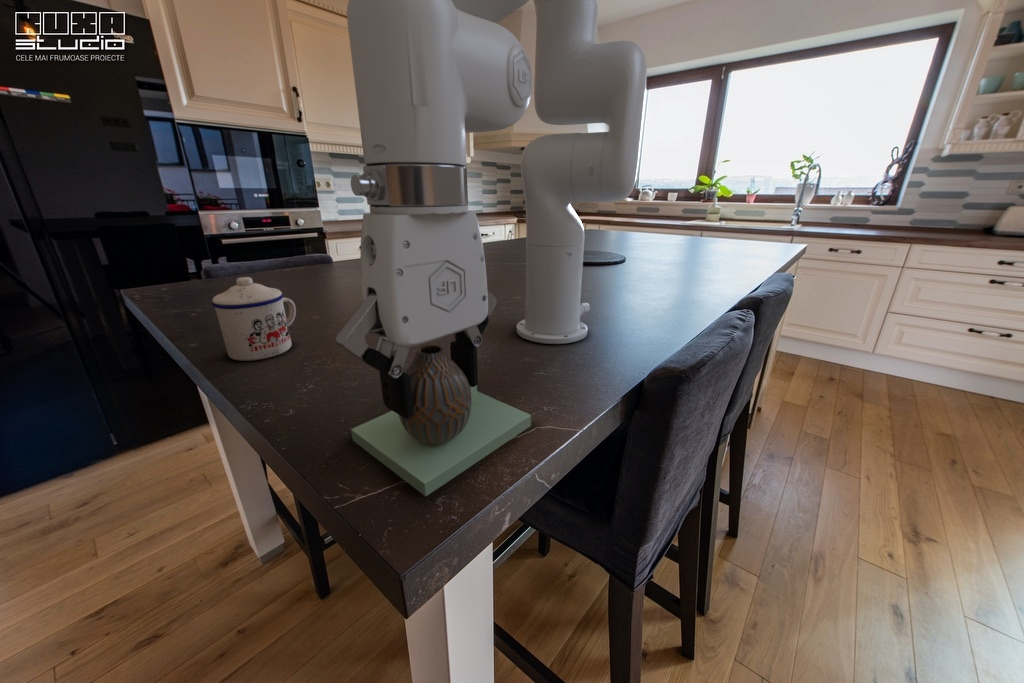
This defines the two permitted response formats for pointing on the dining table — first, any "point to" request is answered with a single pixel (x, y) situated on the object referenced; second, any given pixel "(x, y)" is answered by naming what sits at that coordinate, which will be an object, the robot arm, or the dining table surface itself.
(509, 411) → the scale
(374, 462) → the dining table surface
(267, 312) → the teacup with lid
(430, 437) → the vase
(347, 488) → the dining table surface
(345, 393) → the dining table surface
